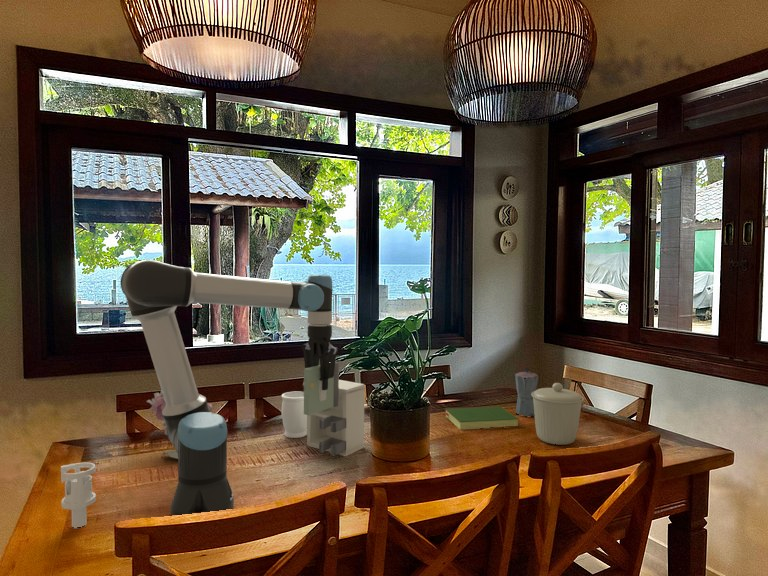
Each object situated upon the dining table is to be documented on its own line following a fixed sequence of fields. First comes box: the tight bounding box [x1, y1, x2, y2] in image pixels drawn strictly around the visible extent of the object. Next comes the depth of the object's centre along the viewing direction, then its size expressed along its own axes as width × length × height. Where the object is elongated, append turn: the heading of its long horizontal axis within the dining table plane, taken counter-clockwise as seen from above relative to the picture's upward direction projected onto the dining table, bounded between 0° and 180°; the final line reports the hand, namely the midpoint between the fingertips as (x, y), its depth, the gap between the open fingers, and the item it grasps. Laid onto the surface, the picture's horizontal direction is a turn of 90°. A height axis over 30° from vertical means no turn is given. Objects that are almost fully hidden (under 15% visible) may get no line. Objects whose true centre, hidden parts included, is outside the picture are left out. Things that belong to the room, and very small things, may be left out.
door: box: [302, 361, 340, 415], centre depth 163 cm, size 15×4×14 cm, turn 146°
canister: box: [531, 382, 585, 446], centre depth 188 cm, size 18×18×21 cm
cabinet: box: [306, 379, 366, 457], centre depth 176 cm, size 16×17×22 cm
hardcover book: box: [444, 405, 519, 431], centre depth 210 cm, size 25×19×4 cm
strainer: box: [60, 461, 97, 529], centre depth 123 cm, size 7×7×15 cm
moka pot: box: [514, 367, 539, 417], centre depth 220 cm, size 10×15×20 cm, turn 163°
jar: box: [281, 390, 307, 439], centre depth 190 cm, size 11×10×15 cm
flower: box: [146, 390, 213, 460], centre depth 171 cm, size 20×22×25 cm
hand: (319, 399), depth 162 cm, fingers closed on door, 2 cm apart
